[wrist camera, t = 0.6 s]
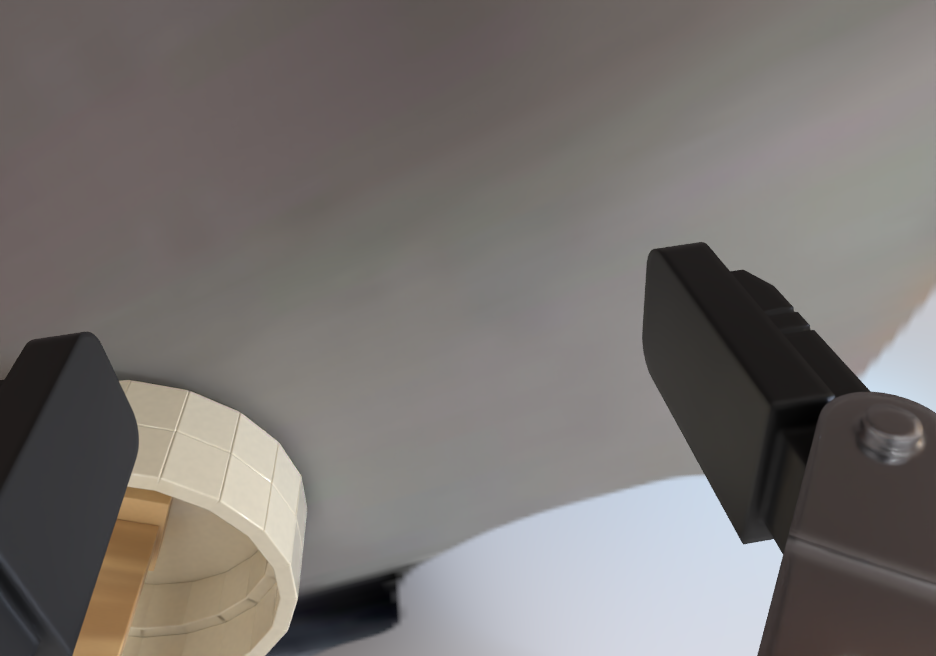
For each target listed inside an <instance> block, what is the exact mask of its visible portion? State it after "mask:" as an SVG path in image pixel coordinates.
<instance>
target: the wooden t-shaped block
mask: <svg viewBox="0 0 936 656" xmlns="http://www.w3.org/2000/svg"><path fill="white" fill-rule="evenodd" d="M172 501H173V497H171V496H168V495H165V494H162V493H160V492H157V491H153V490H146V489H139V488H132V487H127V489H126V492H125V495H124V498H123V501H122V504H121V507H120V510H119V514H118V517H117V520H116V523H115V526H114V529H113V532H112V535H111V538H110V541H109V544H108V547H107V551H106V554H105V557H104V560H103V563H102V566H101V569H100V572H99V575H98V578H97V581H96V584H95V588H94V591H93V594H92V597H91V600H90V603H89V606H88V609H87V612H86V615H85V618H84V621H83V625H82V628H81V631H80V634H79V637H78V640H77V643H76V646H75V649H74V652H73V655H72V656H122V653H123V650H124V647H125V643H126V640H127V637H128V634H129V630H130V627H131V624H132V621H133V618H134V614H135V611H136V608H137V605H138V601H139V598H140V595H141V592H142V588H143V585H144V582H145V579H146V576H147V572H148V571H154V569H155V566H156V562H157V559H158V556H159V552H160V549H161V546H162V542H163V539H164V535H165V530H166V526H167V522H168V518H169V513H170V509H171V505H172Z"/></svg>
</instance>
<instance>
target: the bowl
mask: <svg viewBox="0 0 936 656" xmlns="http://www.w3.org/2000/svg"><path fill="white" fill-rule="evenodd" d="M119 382H120V385H121V387H122V389H123V391H124V393H125V395H126V397H127V399H128V401H129V404H130V406H131V408H132V410H133V412H134V415H135V418H136V421H137V426H138V433H139V449H138V454H137V458H136V461H135V464H134V467H133V470H132V473H131V477H130V480H129V483H128V486H127V487H132V488H139V489H146V490H153V491H157V492H160V493H162V494H165V495H168V496H171V497H173V501H172V505H171V509H170V513H169V518H168V522H167V526H166V530H165V535H164V539H163V542H162V546H161V549H160V552H159V556H158V559H157V562H156V566H155V569H154V571H148V572H147V576H146V579H145V582H144V585H143V588H142V592H141V595H140V598H139V601H138V605H137V608H136V611H135V614H134V618H133V621H132V624H131V627H130V630H129V634H128V637H127V640H126V643H125V647H124V650H123V653H122V656H265V655H266V654H267V653H268V652H269V651H270V650H271V648H272V647H273V646H274V645H275V644H276V643H277V642H278V641H279V640H280V639H281V638H282V637H283V635H284V634H285V633H286V632H287V631H288V629H289V626H290V623H291V619H292V616H293V613H294V610H295V607H296V603H297V600H298V593H299V583H300V574H301V564H302V555H303V545H304V536H305V526H306V517H307V504H306V499H305V493H304V487H303V482H302V476H301V475H300V473H299V472H298V470H297V469H296V467H295V466H294V464H293V463H292V461H291V460H290V458H289V457H288V455H287V454H286V452H285V451H284V449H283V448H282V446H281V445H280V443H279V442H278V441H277V440H276V439H274V438H273V437H272V436H270V435H269V434H268V433H267V432H265V431H264V430H263V429H261V428H260V427H259V426H258V425H256V424H255V423H254V422H252V421H251V420H250V419H249V418H247V417H246V416H245V415H243V414H242V413H240V412H239V411H237V410H234V409H232V408H229V407H227V406H225V405H222V404H220V403H218V402H215V401H213V400H211V399H208V398H206V397H204V396H201V395H199V394H196V393H194V392H192V391H188V390H185V389H179V388H173V387H167V386H162V385H156V384H150V383H145V382H139V381H133V380H132V381H131V380H121V381H119Z"/></svg>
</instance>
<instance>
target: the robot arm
mask: <svg viewBox="0 0 936 656" xmlns="http://www.w3.org/2000/svg"><path fill="white" fill-rule="evenodd" d="M642 340H643V351H644V356H645V361H646V364H647V368H648V370H649V373H650V375H651V377H652V379H653V381H654V383H655V384H656V386H657V388H658V390H659V392H660V394H661V395H662V397H663V399H664V401H665V403H666V405H667V406H668V408H669V410H670V412H671V414H672V415H673V417H674V419H675V421H676V423H677V425H678V426H679V428H680V430H681V432H682V434H683V436H684V437H685V439H686V441H687V443H688V445H689V447H690V448H691V450H692V452H693V454H694V456H695V457H696V459H697V461H698V463H699V465H700V467H701V468H702V470H703V472H704V474H705V476H706V478H707V479H708V481H709V483H710V485H711V487H712V488H713V490H714V492H715V494H716V496H717V498H718V499H719V501H720V503H721V505H722V507H723V509H724V510H725V512H726V514H727V516H728V518H729V519H730V521H731V523H732V525H733V527H734V528H735V530H736V532H737V534H738V536H739V538H740V540H741V541H742V543H743V544H747V543H753V542H759V541H765V540H771V539H774V540H775V541H776V543H777V545H778V547H779V548H780V550H781V552H782V553H783V559H782V562H781V566H780V570H779V574H778V578H777V582H776V585H775V589H774V593H773V598H772V601H771V605H770V609H769V613H768V617H767V620H766V625H765V628H764V632H763V636H762V640H761V644H760V648H759V652H758V655H757V656H936V413H935V412H933V411H932V410H930V409H929V408H927V407H925V406H923V405H921V404H919V403H916V402H914V401H911V400H909V399H906V398H903V397H899V396H896V395H891V394H885V393H879V392H870V391H869V390H868V388H866V386H865V385H864V384H863V383H862V382H861V381H860V380H859V379H858V377H857V376H856V375H855V374H854V373H853V372H852V371H851V370H850V369H849V368H848V367H847V365H846V364H845V363H844V362H843V361H842V360H841V359H840V358H839V357H838V356H837V355H836V353H835V352H834V351H833V350H832V349H831V348H830V347H829V346H828V345H827V344H826V342H825V341H824V340H823V339H822V338H821V337H820V336H819V335H818V334H817V333H816V332H815V330H810V325H809V324H808V323H807V322H806V321H805V320H804V318H803V317H802V316H801V315H800V314H799V313H798V312H794V309H793V306H792V305H791V304H790V303H789V302H788V301H787V300H786V299H785V298H784V297H783V295H782V294H781V293H780V292H779V291H778V290H777V289H776V288H775V287H774V286H773V285H771V284H769V283H767V282H765V281H763V280H762V279H760V278H758V277H756V276H754V275H752V274H750V273H749V272H747V271H745V270H737V271H731V272H730V271H729V270H728V268H727V267H726V266H725V265H724V264H723V263H722V261H721V260H720V259H719V258H718V257H717V255H716V254H715V253H714V252H713V251H712V250H711V248H710V247H709V246H708V245H707V244H705V243H704V242H698V243H692V244H685V245H678V246H671V247H665V248H658V249H653V250H652V251H651V252H650V253H649V256H648V260H647V269H646V285H645V301H644V317H643V333H642ZM138 449H139V433H138V426H137V421H136V418H135V415H134V412H133V410H132V408H131V406H130V404H129V401H128V399H127V397H126V395H125V393H124V391H123V389H122V387H121V385H120V382H119V380H118V378H117V376H116V374H115V372H114V370H113V368H112V366H111V363H110V361H109V359H108V357H107V355H106V353H105V351H104V349H103V346H102V345H101V343H100V341H99V340H98V338H97V337H96V336H95V335H94V334H92V333H90V332H81V333H74V334H68V335H61V336H54V337H47V338H41V339H34V340H31V341H29V342H28V343H27V344H26V346H25V347H24V349H23V350H22V352H21V354H20V355H19V357H18V359H17V360H16V362H15V363H14V365H13V367H12V368H11V370H10V372H9V373H8V375H7V377H6V378H5V380H0V656H72V655H73V652H74V649H75V646H76V643H77V640H78V637H79V634H80V631H81V628H82V625H83V621H84V618H85V615H86V612H87V609H88V606H89V603H90V600H91V597H92V594H93V591H94V588H95V584H96V581H97V578H98V575H99V572H100V569H101V566H102V563H103V560H104V557H105V554H106V551H107V547H108V544H109V541H110V538H111V535H112V532H113V529H114V526H115V523H116V520H117V517H118V514H119V510H120V507H121V504H122V501H123V498H124V495H125V492H126V489H127V486H128V483H129V480H130V477H131V473H132V470H133V467H134V464H135V461H136V458H137V454H138Z"/></svg>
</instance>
